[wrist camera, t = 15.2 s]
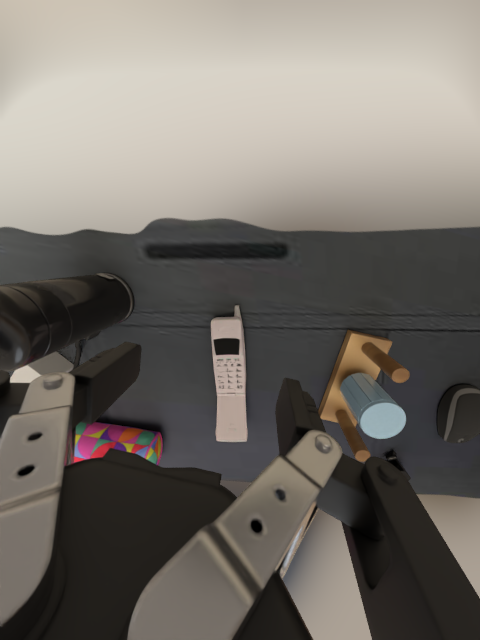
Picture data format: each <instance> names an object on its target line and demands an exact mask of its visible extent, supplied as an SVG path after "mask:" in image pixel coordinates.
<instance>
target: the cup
mask: <svg viewBox="0 0 480 640" xmlns="http://www.w3.org/2000/svg"><path fill="white" fill-rule="evenodd" d="M340 391H341V395H342V397H343V399H344V401H345V402H346V404H347V406H348V408H349V409H350V411H351V413H352V414H353V416H354V418H355V419H356V421H357V423H358V424H359V426H360V428H362V430H363V431H364V432H365V433H366V434H367V435H369V436H370V437H373V438H378V439H384V438H389V437H392V436H394V435H396V434H398V433H399V432H400V431H401V430H402V429H403V427H404V426H405V423H406V415H405V412H404V411H403V409H402V408H401V407H400V406H399V405H398V404H397V403H396V402H395V400H394V399H393V398H392V397H391V396H390V395H389V394H388V393H387V392H386V391H385V390H384V389H383V388H382V387H381V386H380V385H379V383H378V382H377V381H376V380H375V379H374V378H373V377H371V376H370V375H369V374H364V373H356V374H351V375H349V376H348V377H347V378H346V379H344V380H343V382H342V384H341V387H340Z"/></svg>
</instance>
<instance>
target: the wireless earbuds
mask: <svg viewBox="0 0 480 640" xmlns="http://www.w3.org/2000/svg"><path fill="white" fill-rule="evenodd" d="M395 454H396V453H395V451H392V452H391V453H390V454H387V455H386V459H387V460H388V461H387V462H389V463H391V464H392V465H394V466H395V467H396V468H397V469H398V470H400V471H401V472H402V474H403V475H404V476H405V477H406V479H407V480H408V481H409V480H410V476H409V475H408V473H407V472H406V470H405V469H404V468H403V466H402V465H401V464H400V463H399V461H398V460H397V456H396V455H395Z"/></svg>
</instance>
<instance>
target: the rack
mask: <svg viewBox="0 0 480 640" xmlns="http://www.w3.org/2000/svg"><path fill="white" fill-rule="evenodd" d="M391 344H392V341H390V340H389V339H387V338H383V337H379V336H374V335H370V334H365V333H360V332H356V331H351V330H348V331H347V334H346V336H345V339H344V342H343V345H342V347H341V350H340V353H339V355H338V358H337V361H336V364H335V366H334V369H333V372H332V375H331V377H330V380H329V383H328V385H327V388H326V391H325V394H324V396H323V399H322V402H321V405H320V407H319V410H318V414H319V415H320V418H321V419H324V420H329V421H333V422H338V423H339V424H340V427H341V429H342V431H343V433H344V435H345V437H346V439H347V441H348V443H349V445H350V447H351V450H352V452H353V454H354V456H355V458H356V459H357V460H358V461H362V462H363V461H366V460H367V459H368V458H369V457H370V453H369V451H368V449H367V447H366V446H365V444H364V442H363V440H362V438H361V437H360V435H359V433H358V431H357V430H356V428H355V426H356V424H357V421H356V419H355V418H354V416H353V414H352V413H351V411H350V409H349V408H348V406H347V404H346V402H345V401H344V399H343V397H342V395H341V391H340V387H341V384H342V382H343V380H344V379H346V378H347V377H348V376H349V375H351V374H356V373H364V374H369V375H370V376H371V377H373V378H374V379H375V380H376V378H377V376H378V374H379V372H380V369H381V370H382V371H384V372H385V373H386V374H387V375H388V376H389V377H390V378H391V379H392V380H393V381H395V382H397V383H402V382H405V381H406V380H407V379H408V378H409V371H408V370H407V369H406V368H404V367H403V366H402V365H400V364H399V363H398V362H396V361H395V360H394V359H392V358H391V357H390V356H389V355H387V353H388V351H389V349H390V346H391Z"/></svg>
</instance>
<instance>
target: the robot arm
mask: <svg viewBox="0 0 480 640" xmlns="http://www.w3.org/2000/svg"><path fill="white" fill-rule="evenodd" d="M133 307H134V297H133V294H132V291H131V289H130V287H129V286H128V285H127V283H126V282H125V281H124V280H123V279H121V278H120V277H118V276H116V275H114V274H110V273H97V274H95V275H85V276H76V277H67V278H58V279H48V280H39V281H30V282H22V283H13V284H4V285H0V640H313V638H312V637H311V634H310V633H309V631H308V629H307V627H306V625H305V623H304V621H303V619H302V617H301V615H300V613H299V611H298V609H297V607H296V605H295V603H294V602H293V599H292V598H291V595H290V594H289V592H288V590H287V588H286V586H285V584H284V582H283V580H282V579H283V577H284V575H285V573H286V571H287V569H288V567H289V565H290V562H291V561H292V558H293V556H294V554H295V552H296V550H297V548H298V546H299V544H300V543H301V541H302V539H303V537H304V535H305V533H306V531H307V530H308V528H309V526H310V524H311V522H312V520H313V518H314V516H315V515H316V513H317V511H318V509H321V510H323V511H324V512H326V513H328V514H329V515H331V516H333V517H335V518H336V519H338V520H340V521H341V522H342V526H343V529H344V533H345V537H346V541H347V545H348V548H349V553H350V556H351V560H352V564H353V568H354V572H355V576H356V579H357V583H358V587H359V591H360V595H361V598H362V602H363V606H364V610H365V614H366V618H367V621H368V625H369V629H370V633H371V636H372V640H480V598H479V596H478V595H477V593H476V592H475V590H474V588H473V587H472V585H471V584H470V582H469V580H468V579H467V577H466V575H465V573H464V572H463V570H462V569H461V567H460V565H459V564H458V562H457V560H456V559H455V557H454V556H453V554H452V552H451V551H450V549H449V547H448V546H447V544H446V542H445V541H444V539H443V537H442V536H441V534H440V533H439V531H438V529H437V528H436V526H435V524H434V523H433V521H432V519H431V518H430V516H429V514H428V513H427V511H426V510H425V508H424V506H423V505H422V503H421V501H420V500H419V498H418V496H417V495H416V493H415V492H414V490H413V488H412V487H411V485H410V483H409V482H408V480H407V479H406V477H405V476H404V475H403V474H402V472H401V471H400V470H398V469H397V468H396V467H395V466H394V465H392V464H391V463H389V462H387V461H386V460H383V459H381V458H378V457H369V458H368V459H367V460H366V462H365V464H363V463H361V462H359V461H356V460H354V459H352V458H350V457H348V456H346V455H345V454H343V453H342V449H341V447H340V445H339V443H338V442H337V441H336V440H335V439H334V438H333V437H332V436H330V435H329V434H327V433H326V431H325V428H324V426H323V423H322V420H321V418H320V415H319V414H318V410H317V408H316V405H315V402H314V399H313V398H312V397H311V396H310V395H309V394H308V392H304V391H302V389H301V386H300V383H299V381H298V380H293V379H289V378H284V380H283V383H282V386H281V389H280V393H279V396H278V400H277V403H276V411H275V414H276V424H277V434H278V443H279V453H280V454H279V455H278V456H277V457H276V458H275V459H274V460H273V461H272V462H271V463H270V464H269V465H268V466H267V467H266V468H265V469H264V470H263V471H262V473H261V474H260V475H259V476H258V477H257V478H256V479H255V480H254V481H253V482H252V483H251V484H250V485H249V486H248V487H247V488H246V489H245V490H244V491H243V492H242V493H241V494H240V496H238V497H236V496H235V495H234V494H233V493H232V492H231V491H229V490H228V489H227V488H225V487H223V486H222V485H220V480H221V475H222V474H219V473H215V472H211V471H207V470H202V469H198V468H162V467H159V466H158V465H156V464H154V463H152V462H150V461H149V460H147V459H145V458H143V457H141V456H140V455H138V454H135V453H130V452H126V451H122V450H118V449H113V448H109V450H108V451H107V452H106V454H105V455H104V456H103V457H99V458H91V459H86V460H82V461H78V462H75V463H74V453H75V439H76V426H77V425H78V424H79V423H80V422H82V423H86V424H90V425H92V424H93V423H94V422H95V421H96V420H97V419H98V418H99V417H100V416H101V415H102V414H103V413H104V412H105V411H106V410H107V409H108V408H109V407H110V406H111V405H112V404H113V403H114V402H115V401H116V400H117V399H118V398H119V397H120V396H121V395H122V394H123V393H124V392H125V391H126V390H127V389H128V388H129V387H130V386H131V385H132V384H133V383H134V382H135V380H136V379H137V377H138V375H139V371H140V359H141V346H140V345H138V344H134V343H129V342H124V343H123V344H121V345H120V346H118V347H116V348H112V349H109V350H106V351H103V352H101V353H100V354H98V355H96V356H95V357H93V358H91V359H90V360H89V361H86V362H85V363H83V364H81V365H80V366H78V364H79V360H80V354H81V346H80V341H81V340H82V339H86V340H89V339H91V338H94V337H96V336H98V335H99V333H100V331H101V330H103V329H105V328H107V327H110V326H112V325H114V324H117V323H120V322H122V321H124V320H126V319H127V318H128V317H129V316H130V315H131V313H132V311H133ZM73 343H75V347H76V349H77V350H76V358H75V363H74V366H73V370H72V371H70V372H68V373H66V372H54V373H48V374H45V375H42V376H39V377H37V378H36V379H34V380H33V381H32V382H31V383H10V375H9V373H8V372H9V371H14V370H17V369H19V368H22V367H24V366H27V365H29V364H31V363H33V362H35V361H37V360H39V359H41V358H43V357H45V356H48V355H50V354H52V353H54V352H56V351H58V350H60V349H62V348H64V347H67V346H69V345H71V344H73Z"/></svg>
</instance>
